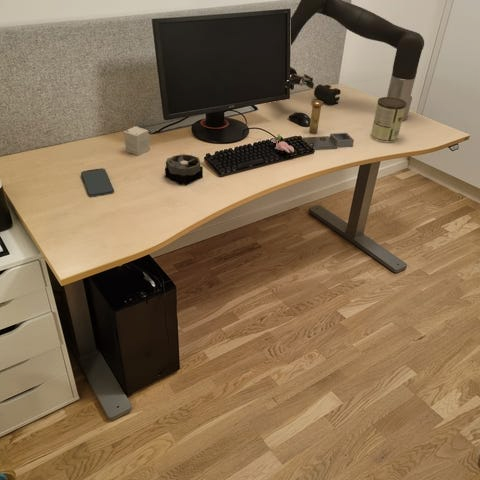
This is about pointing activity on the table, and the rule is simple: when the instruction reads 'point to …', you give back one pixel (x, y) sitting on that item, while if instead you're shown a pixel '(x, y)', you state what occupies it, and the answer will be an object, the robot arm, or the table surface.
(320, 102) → the hinge pin
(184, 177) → the cpu cooler
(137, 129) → the skincare box
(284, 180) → the table surface
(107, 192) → the smartphone
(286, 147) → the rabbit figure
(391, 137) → the coffee can
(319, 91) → the end cap
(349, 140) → the grey tray fixture
